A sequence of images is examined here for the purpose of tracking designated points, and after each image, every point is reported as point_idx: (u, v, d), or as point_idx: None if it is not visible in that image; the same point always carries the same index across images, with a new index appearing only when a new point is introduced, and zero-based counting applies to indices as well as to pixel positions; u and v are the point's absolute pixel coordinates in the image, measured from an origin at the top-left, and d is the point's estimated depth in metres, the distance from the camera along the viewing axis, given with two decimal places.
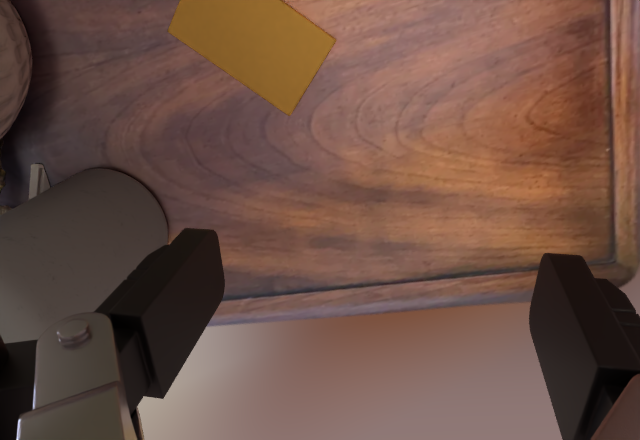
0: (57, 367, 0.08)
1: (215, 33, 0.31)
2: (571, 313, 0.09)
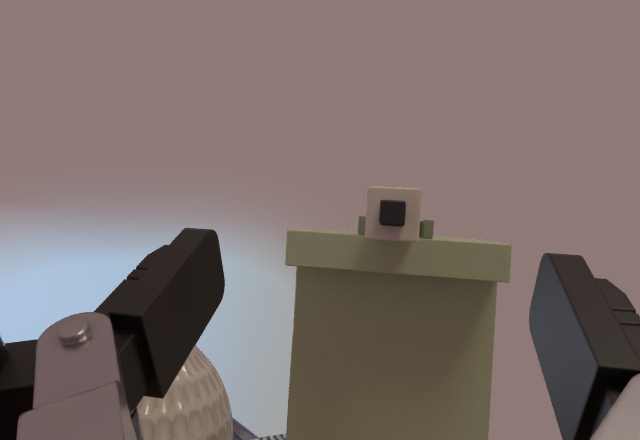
0: (57, 367, 0.08)
1: None
2: (571, 313, 0.09)
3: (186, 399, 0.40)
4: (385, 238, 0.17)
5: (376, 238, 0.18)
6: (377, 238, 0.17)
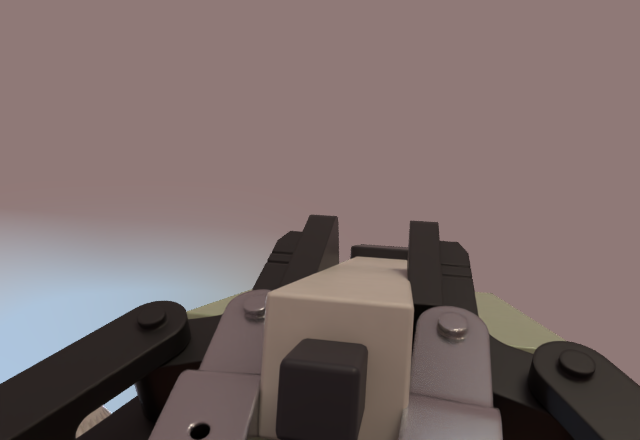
0: (256, 339, 0.08)
1: None
2: (407, 266, 0.10)
3: None
4: None
5: None
6: None
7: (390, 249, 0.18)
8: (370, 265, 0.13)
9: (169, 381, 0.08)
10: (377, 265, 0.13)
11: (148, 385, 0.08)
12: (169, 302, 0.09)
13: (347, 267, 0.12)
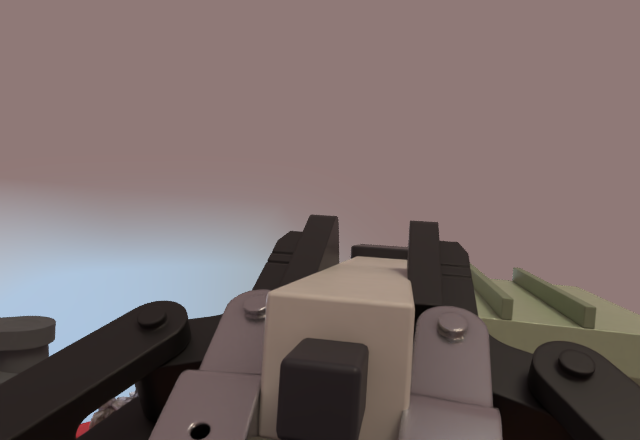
0: (257, 339, 0.08)
1: None
2: (407, 266, 0.10)
3: None
4: None
5: None
6: None
7: (390, 249, 0.18)
8: (370, 265, 0.13)
9: (169, 381, 0.08)
10: (377, 265, 0.13)
11: (148, 385, 0.08)
12: (169, 302, 0.09)
13: (347, 267, 0.12)
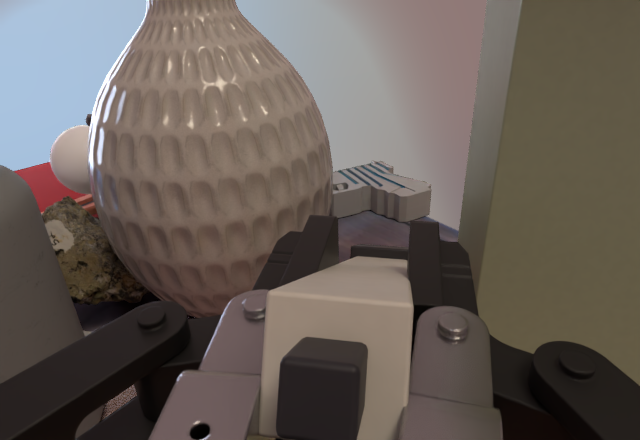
0: (256, 339, 0.08)
1: None
2: (407, 266, 0.10)
3: (270, 103, 0.26)
4: None
5: None
6: None
7: (390, 249, 0.18)
8: (370, 264, 0.13)
9: (168, 381, 0.08)
10: (377, 264, 0.13)
11: (147, 385, 0.08)
12: (168, 302, 0.09)
13: (347, 266, 0.12)
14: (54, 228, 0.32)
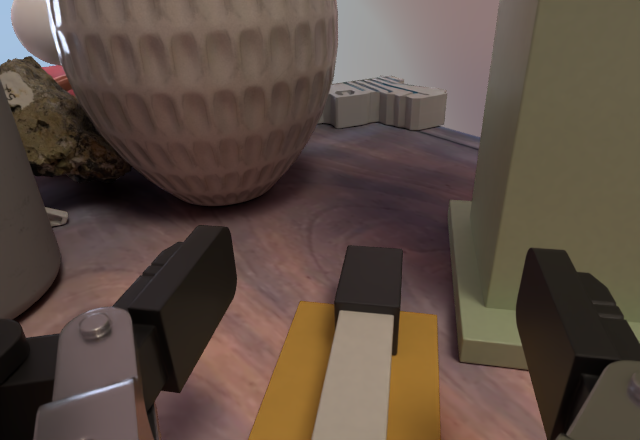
0: (80, 360, 0.08)
1: (328, 352, 0.18)
2: (552, 305, 0.09)
3: None
4: None
5: None
6: None
7: (375, 305, 0.17)
8: (347, 426, 0.13)
9: None
10: (355, 420, 0.13)
11: None
12: None
13: None
14: (10, 81, 0.27)
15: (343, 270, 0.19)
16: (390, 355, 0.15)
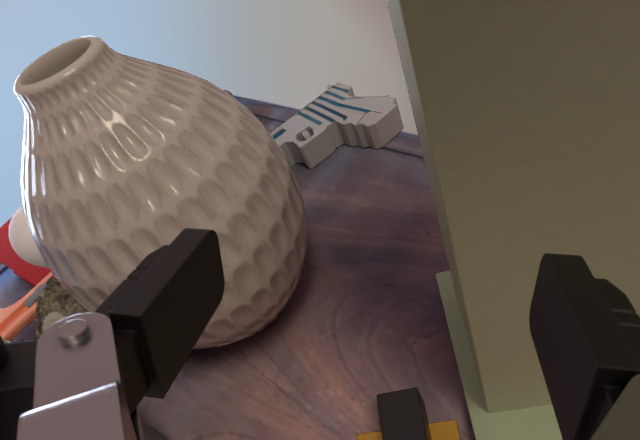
0: (57, 367, 0.08)
1: None
2: (571, 313, 0.09)
3: (197, 158, 0.24)
4: None
5: None
6: None
7: None
8: None
9: None
10: None
11: None
12: None
13: None
14: (54, 320, 0.32)
15: (382, 429, 0.26)
16: None
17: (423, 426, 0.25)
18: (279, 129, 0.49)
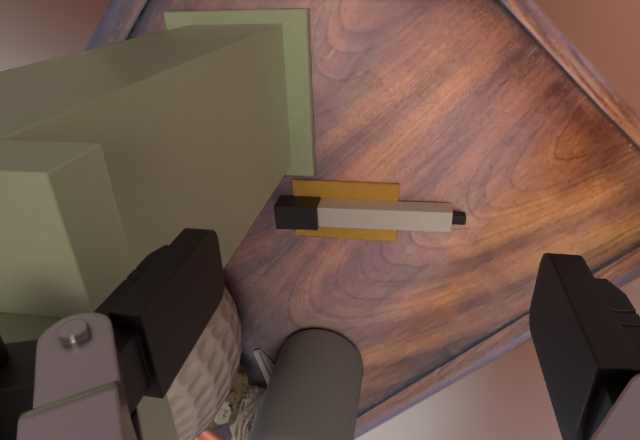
0: (57, 367, 0.08)
1: None
2: (571, 313, 0.09)
3: None
4: None
5: None
6: None
7: (316, 216, 0.43)
8: (370, 220, 0.42)
9: None
10: (368, 218, 0.42)
11: None
12: None
13: (386, 225, 0.42)
14: (219, 418, 0.51)
15: (296, 228, 0.44)
16: (338, 208, 0.42)
17: (297, 207, 0.43)
18: None
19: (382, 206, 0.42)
